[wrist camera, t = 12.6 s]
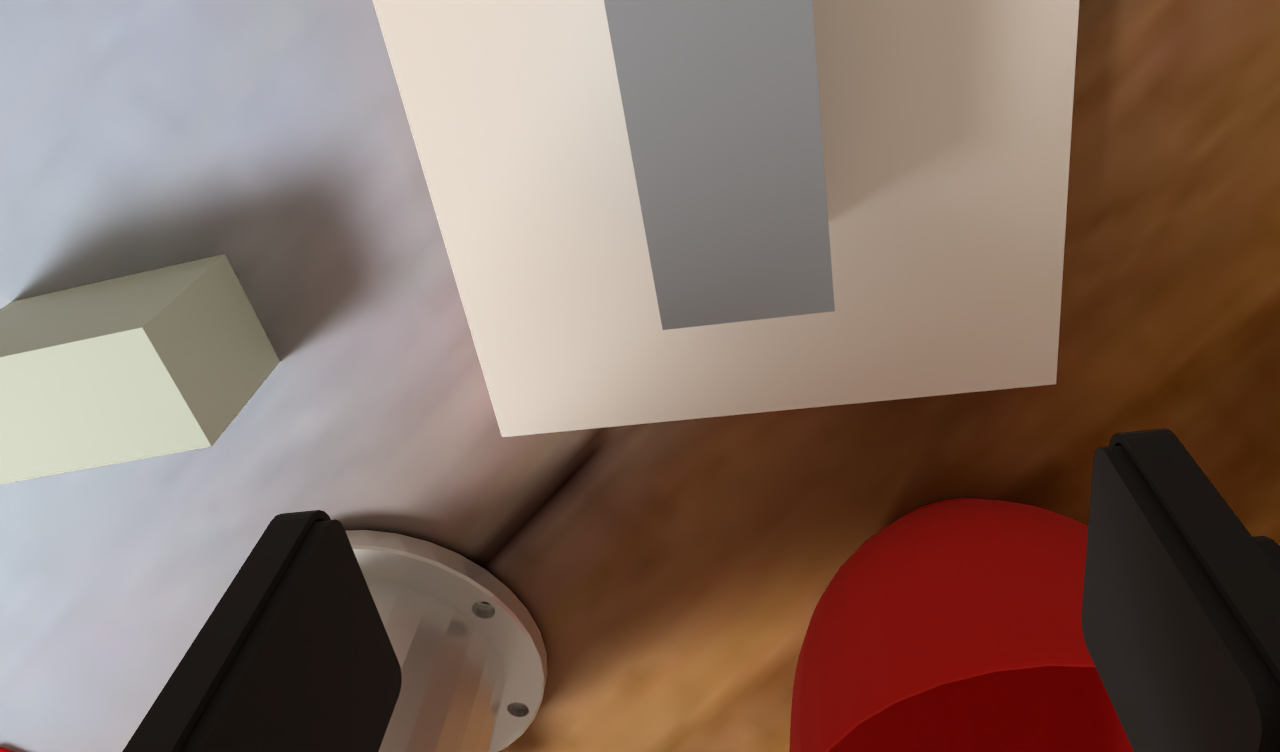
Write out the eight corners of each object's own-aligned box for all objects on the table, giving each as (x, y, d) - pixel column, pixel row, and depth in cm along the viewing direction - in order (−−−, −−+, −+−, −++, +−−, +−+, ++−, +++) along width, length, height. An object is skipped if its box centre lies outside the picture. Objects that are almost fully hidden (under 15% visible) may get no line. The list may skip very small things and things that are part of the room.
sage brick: (226, 252, 30) (142, 327, 25) (281, 359, 32) (211, 446, 27) (14, 299, 31) (-99, 378, 27) (79, 399, 33) (-17, 487, 29)
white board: (1042, 358, 29) (1056, 384, 28) (511, 411, 32) (502, 437, 30) (1075, -312, 21) (1098, -320, 19) (347, -162, 23) (325, -160, 22)
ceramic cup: (796, 763, 40) (813, 1023, 31) (760, 436, 31) (770, 671, 23) (1121, 754, 38) (1233, 1030, 30) (1176, 403, 30) (1355, 647, 21)
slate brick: (818, 227, 26) (834, 311, 22) (673, 245, 27) (662, 329, 22) (792, -94, 22) (807, -67, 18) (623, -64, 23) (598, -32, 18)
